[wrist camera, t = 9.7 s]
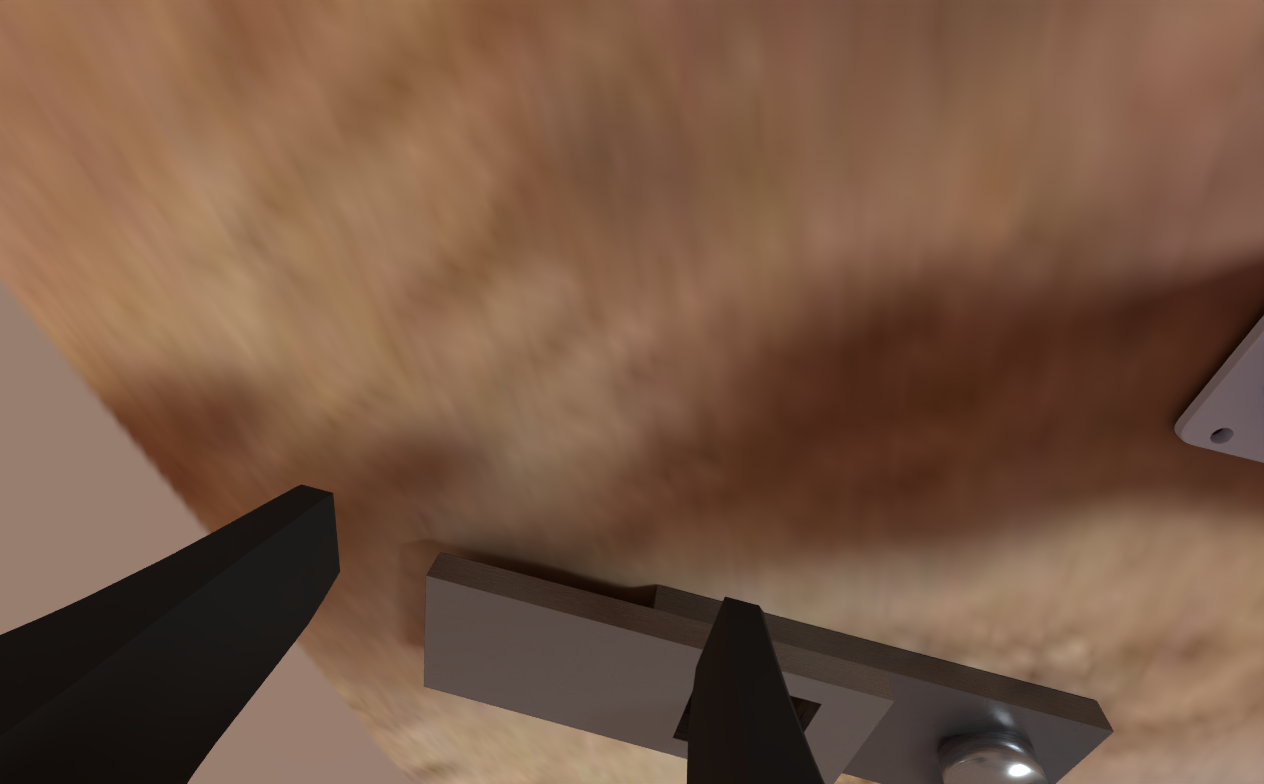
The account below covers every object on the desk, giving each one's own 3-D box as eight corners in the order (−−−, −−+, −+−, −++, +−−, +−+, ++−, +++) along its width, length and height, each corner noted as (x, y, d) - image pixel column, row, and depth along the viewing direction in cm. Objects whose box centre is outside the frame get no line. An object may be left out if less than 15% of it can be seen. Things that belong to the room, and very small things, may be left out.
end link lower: (1096, 701, 23) (1132, 765, 21) (1003, 790, 26) (1026, 852, 24) (657, 584, 23) (650, 635, 21) (625, 687, 27) (615, 739, 25)
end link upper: (880, 643, 23) (894, 701, 21) (817, 739, 27) (824, 796, 25) (453, 530, 24) (426, 575, 22) (447, 638, 27) (423, 686, 25)
